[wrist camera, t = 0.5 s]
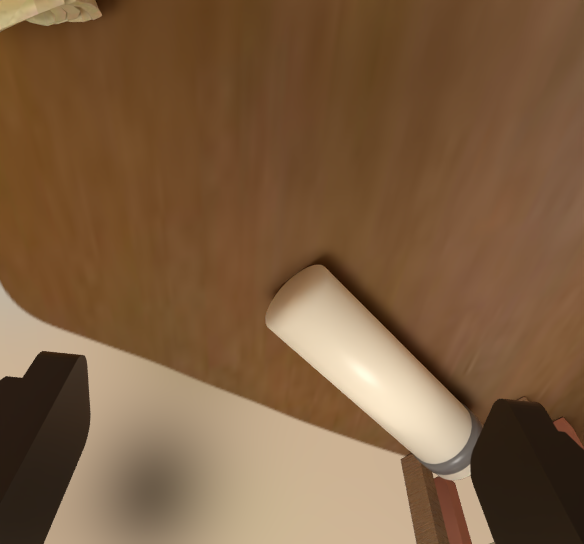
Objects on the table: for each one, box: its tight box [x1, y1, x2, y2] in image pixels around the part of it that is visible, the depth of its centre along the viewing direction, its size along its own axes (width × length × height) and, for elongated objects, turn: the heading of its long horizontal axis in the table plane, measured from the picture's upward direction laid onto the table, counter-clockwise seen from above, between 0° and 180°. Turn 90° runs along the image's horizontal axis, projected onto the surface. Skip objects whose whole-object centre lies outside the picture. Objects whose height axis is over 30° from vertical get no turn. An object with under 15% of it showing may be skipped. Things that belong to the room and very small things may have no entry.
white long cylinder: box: [265, 265, 483, 480], centre depth 31 cm, size 16×5×5 cm, turn 42°
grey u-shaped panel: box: [401, 397, 530, 544], centre depth 33 cm, size 10×2×10 cm, turn 132°
